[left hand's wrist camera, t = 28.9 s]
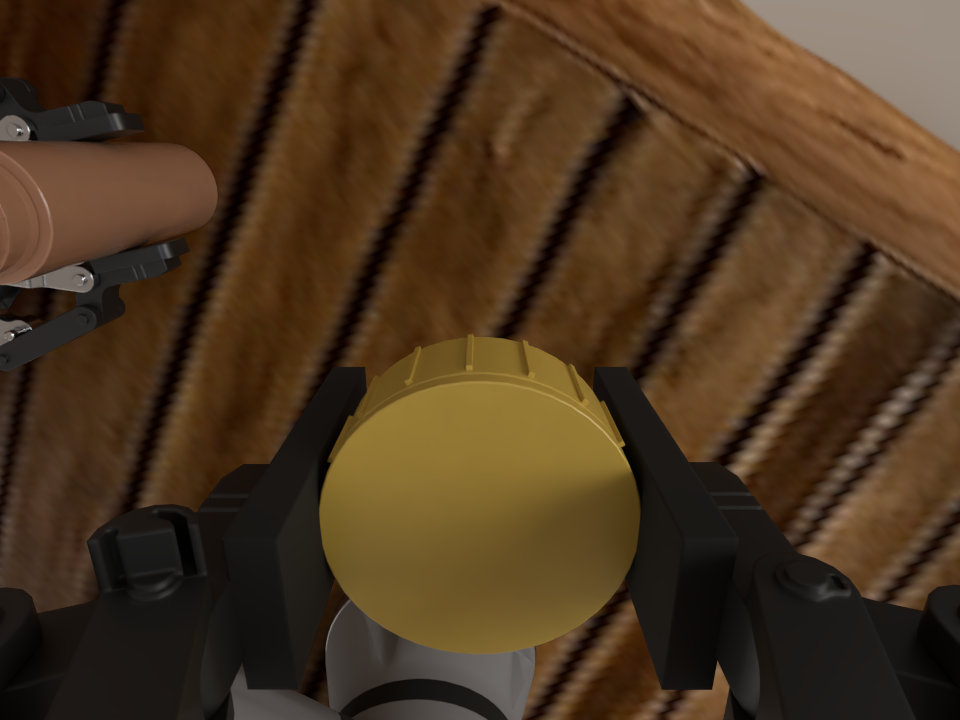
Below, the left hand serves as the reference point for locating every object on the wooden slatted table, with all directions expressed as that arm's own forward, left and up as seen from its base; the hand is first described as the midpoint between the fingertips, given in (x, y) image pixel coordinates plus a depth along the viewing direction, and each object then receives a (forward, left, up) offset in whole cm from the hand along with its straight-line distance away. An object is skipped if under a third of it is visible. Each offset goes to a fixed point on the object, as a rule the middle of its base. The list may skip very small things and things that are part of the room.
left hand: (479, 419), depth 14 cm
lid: (0, 0, +4) cm, 4 cm away
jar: (-3, +17, -22) cm, 28 cm away
